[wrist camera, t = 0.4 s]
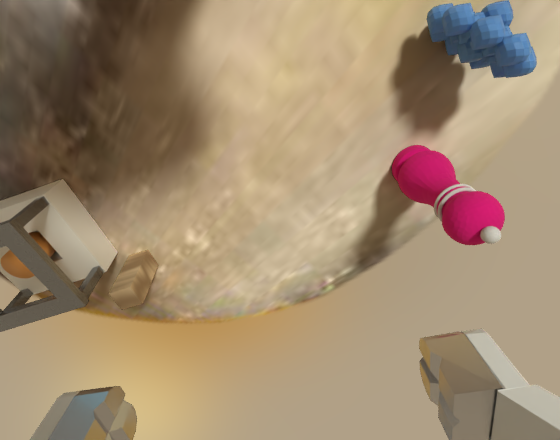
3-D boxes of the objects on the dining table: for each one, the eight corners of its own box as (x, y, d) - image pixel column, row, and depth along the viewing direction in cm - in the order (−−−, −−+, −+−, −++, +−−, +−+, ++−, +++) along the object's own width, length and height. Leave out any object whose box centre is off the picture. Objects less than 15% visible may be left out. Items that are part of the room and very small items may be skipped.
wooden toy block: (129, 255, 54) (108, 293, 46) (147, 249, 54) (130, 287, 46) (139, 270, 56) (121, 309, 48) (158, 264, 55) (143, 303, 48)
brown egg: (16, 237, 47) (-8, 258, 42) (43, 228, 46) (21, 248, 42) (37, 259, 49) (16, 281, 45) (63, 251, 49) (44, 273, 44)
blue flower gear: (507, 31, 40) (593, 34, 30) (467, 82, 43) (533, 100, 33) (441, -27, 37) (513, -47, 27) (402, 32, 40) (454, 35, 29)
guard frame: (-47, 226, 44) (-95, 258, 38) (43, 194, 42) (9, 222, 36) (26, 296, 51) (-4, 333, 45) (106, 271, 49) (85, 306, 43)
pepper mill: (395, 193, 51) (465, 277, 34) (382, 155, 48) (453, 227, 31) (440, 173, 50) (536, 250, 33) (429, 132, 47) (531, 195, 29)
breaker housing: (-21, 208, 48) (-47, 226, 44) (63, 178, 46) (43, 194, 42) (44, 275, 55) (26, 296, 51) (118, 252, 53) (106, 271, 49)
